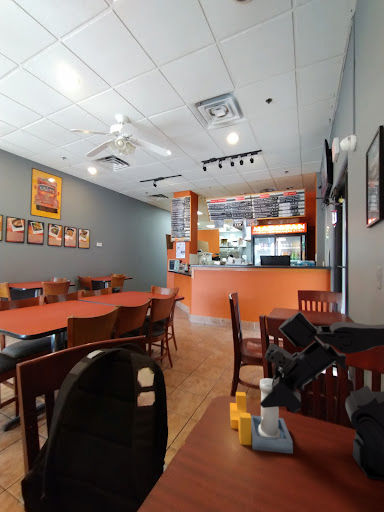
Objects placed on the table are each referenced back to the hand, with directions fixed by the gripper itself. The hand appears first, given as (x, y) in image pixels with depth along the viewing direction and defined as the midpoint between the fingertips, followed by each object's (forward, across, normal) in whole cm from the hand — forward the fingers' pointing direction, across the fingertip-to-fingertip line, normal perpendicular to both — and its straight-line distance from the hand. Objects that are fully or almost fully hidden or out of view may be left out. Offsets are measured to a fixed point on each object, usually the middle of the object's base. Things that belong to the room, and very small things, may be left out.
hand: (263, 399), depth 61 cm
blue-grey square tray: (+5, 0, +7) cm, 9 cm away
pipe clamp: (+11, -1, +2) cm, 11 cm away
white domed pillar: (+5, 0, +7) cm, 9 cm away
